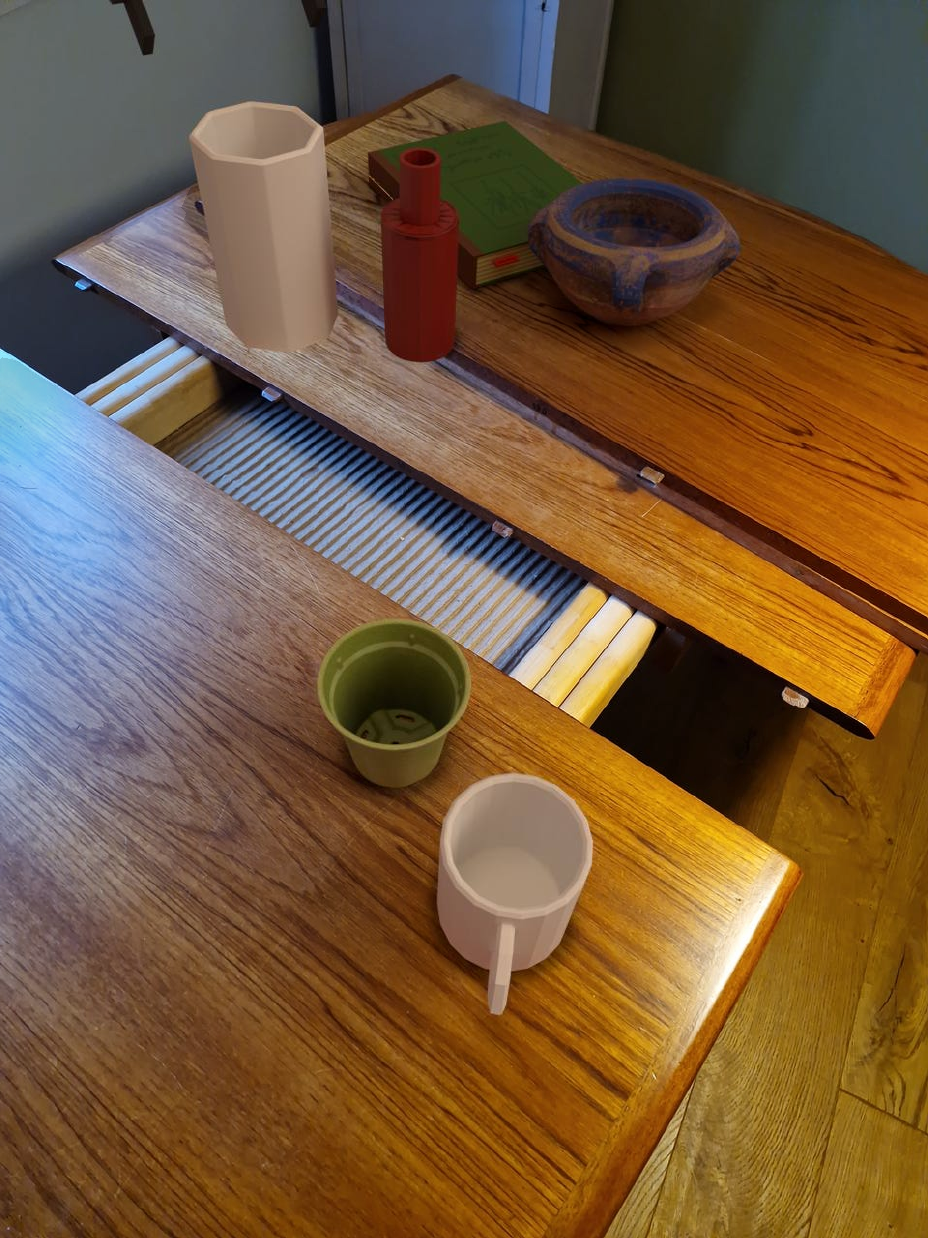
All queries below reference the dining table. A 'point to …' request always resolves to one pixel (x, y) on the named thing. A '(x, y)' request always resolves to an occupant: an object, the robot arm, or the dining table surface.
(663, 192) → the bowl
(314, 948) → the dining table surface
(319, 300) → the cup
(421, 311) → the sauce bottle
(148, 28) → the robot arm
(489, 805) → the mug
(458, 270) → the book
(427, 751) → the plant pot
